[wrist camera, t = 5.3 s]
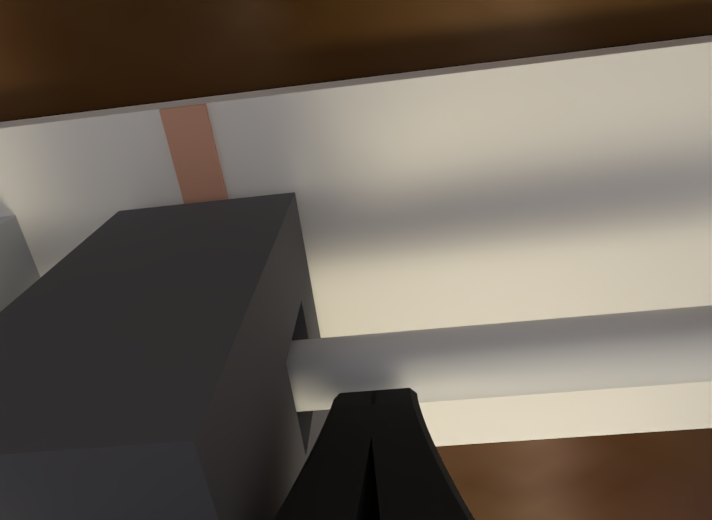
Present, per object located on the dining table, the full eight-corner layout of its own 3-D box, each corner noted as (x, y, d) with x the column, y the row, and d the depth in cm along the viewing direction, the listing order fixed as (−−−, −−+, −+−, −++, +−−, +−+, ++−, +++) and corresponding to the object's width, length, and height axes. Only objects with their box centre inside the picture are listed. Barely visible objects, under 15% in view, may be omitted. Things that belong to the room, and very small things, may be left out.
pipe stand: (796, 24, 12) (1448, 78, 5) (722, 401, 16) (1002, 734, 9) (-87, 132, 14) (-617, 295, 6) (57, 448, 18) (-161, 761, 11)
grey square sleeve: (294, 191, 12) (193, 440, 5) (333, 409, 15) (295, 761, 8) (118, 211, 13) (-184, 467, 6) (185, 420, 15) (31, 767, 8)
